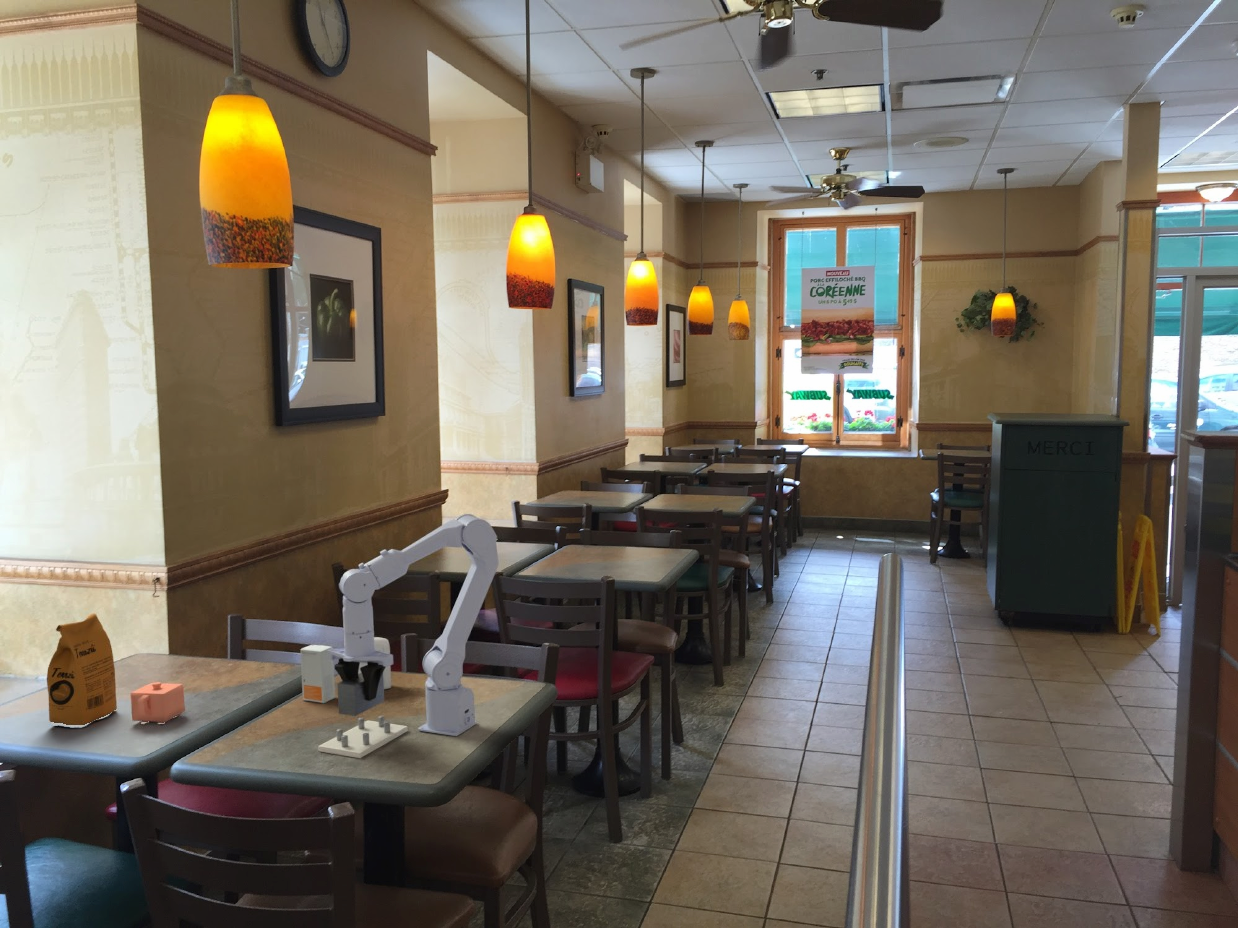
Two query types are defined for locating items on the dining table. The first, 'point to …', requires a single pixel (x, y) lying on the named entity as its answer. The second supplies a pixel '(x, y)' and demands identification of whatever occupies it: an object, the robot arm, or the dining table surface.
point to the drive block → (357, 695)
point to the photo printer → (383, 646)
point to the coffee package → (81, 674)
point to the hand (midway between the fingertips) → (362, 697)
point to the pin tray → (362, 738)
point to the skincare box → (317, 674)
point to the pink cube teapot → (157, 702)
